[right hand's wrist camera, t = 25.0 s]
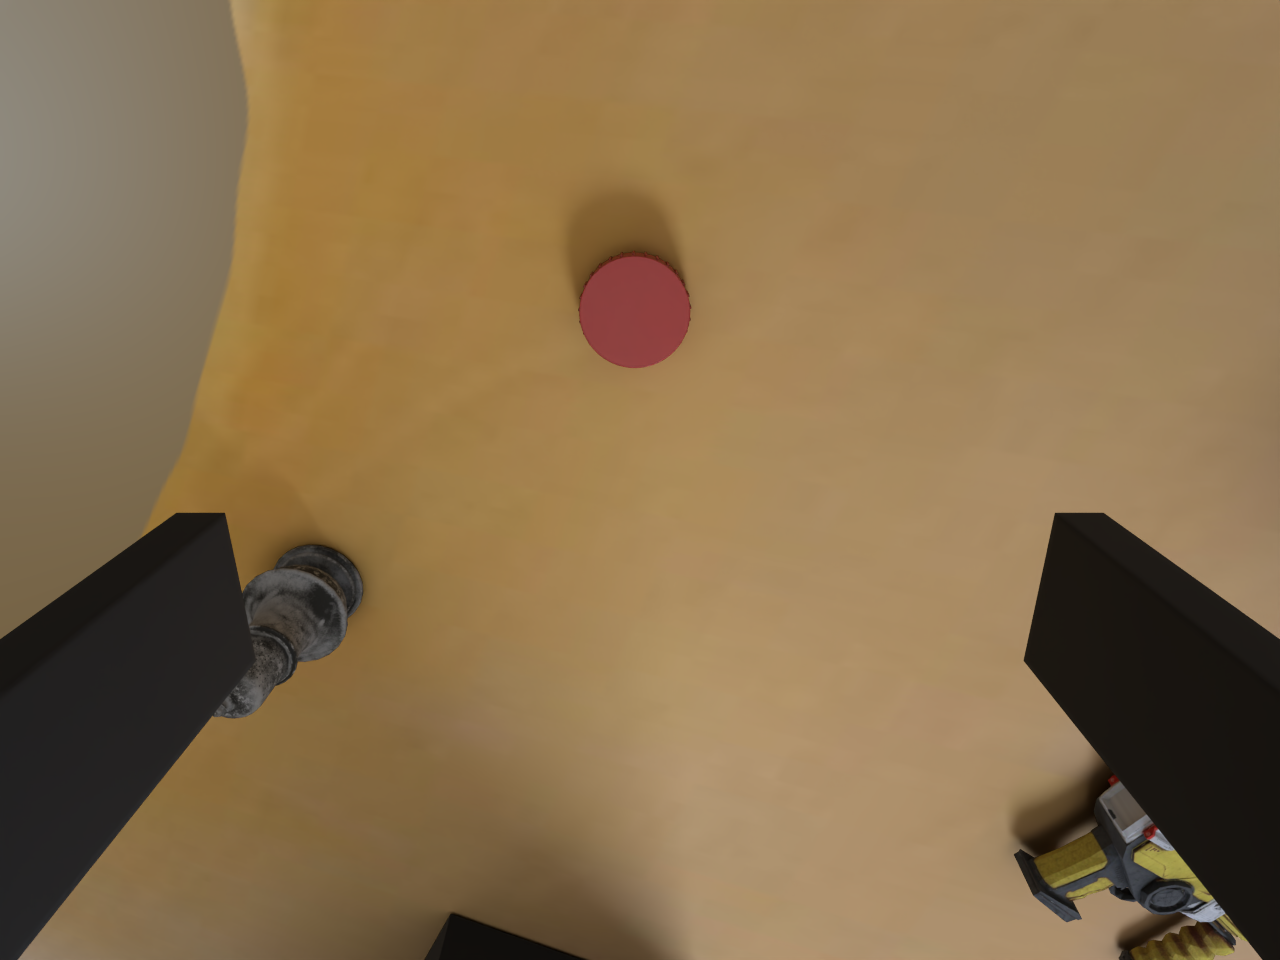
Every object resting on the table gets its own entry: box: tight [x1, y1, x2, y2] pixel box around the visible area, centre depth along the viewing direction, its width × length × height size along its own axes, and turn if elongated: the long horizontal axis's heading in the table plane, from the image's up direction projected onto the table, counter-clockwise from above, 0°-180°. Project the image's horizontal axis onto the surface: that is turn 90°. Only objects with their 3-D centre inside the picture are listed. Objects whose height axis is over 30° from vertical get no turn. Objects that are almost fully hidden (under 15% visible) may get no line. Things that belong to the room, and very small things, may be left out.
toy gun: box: [1014, 775, 1247, 960], centre depth 53 cm, size 5×24×15 cm
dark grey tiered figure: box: [213, 545, 363, 718], centre depth 40 cm, size 6×6×12 cm
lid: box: [578, 251, 691, 368], centre depth 39 cm, size 6×6×2 cm
